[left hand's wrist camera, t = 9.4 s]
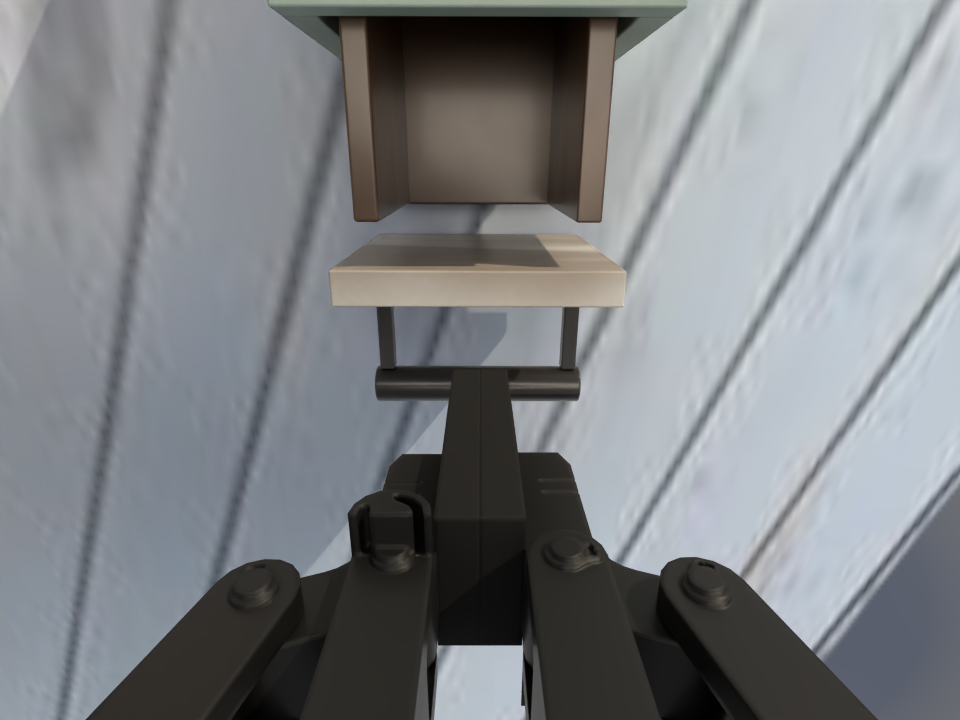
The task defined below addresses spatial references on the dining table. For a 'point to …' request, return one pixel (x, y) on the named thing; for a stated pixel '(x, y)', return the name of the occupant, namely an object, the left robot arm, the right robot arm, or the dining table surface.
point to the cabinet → (480, 14)
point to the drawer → (477, 175)
